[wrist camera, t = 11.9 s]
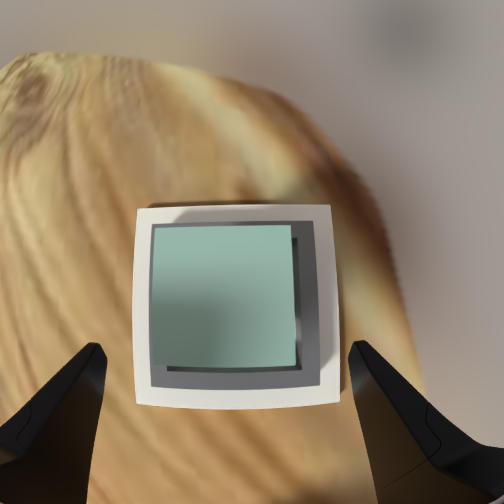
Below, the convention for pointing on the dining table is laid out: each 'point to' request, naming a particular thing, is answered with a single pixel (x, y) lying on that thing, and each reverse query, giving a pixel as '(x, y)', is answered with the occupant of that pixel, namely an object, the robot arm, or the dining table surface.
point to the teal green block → (223, 297)
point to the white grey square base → (305, 309)
